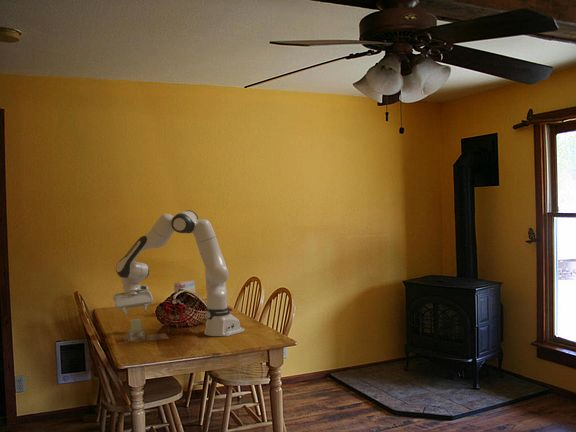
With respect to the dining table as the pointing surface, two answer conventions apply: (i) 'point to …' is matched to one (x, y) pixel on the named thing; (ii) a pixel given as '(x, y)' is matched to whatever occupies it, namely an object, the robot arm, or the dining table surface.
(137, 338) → the end cap board
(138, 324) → the slat
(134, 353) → the dining table surface
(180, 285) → the cracker box
